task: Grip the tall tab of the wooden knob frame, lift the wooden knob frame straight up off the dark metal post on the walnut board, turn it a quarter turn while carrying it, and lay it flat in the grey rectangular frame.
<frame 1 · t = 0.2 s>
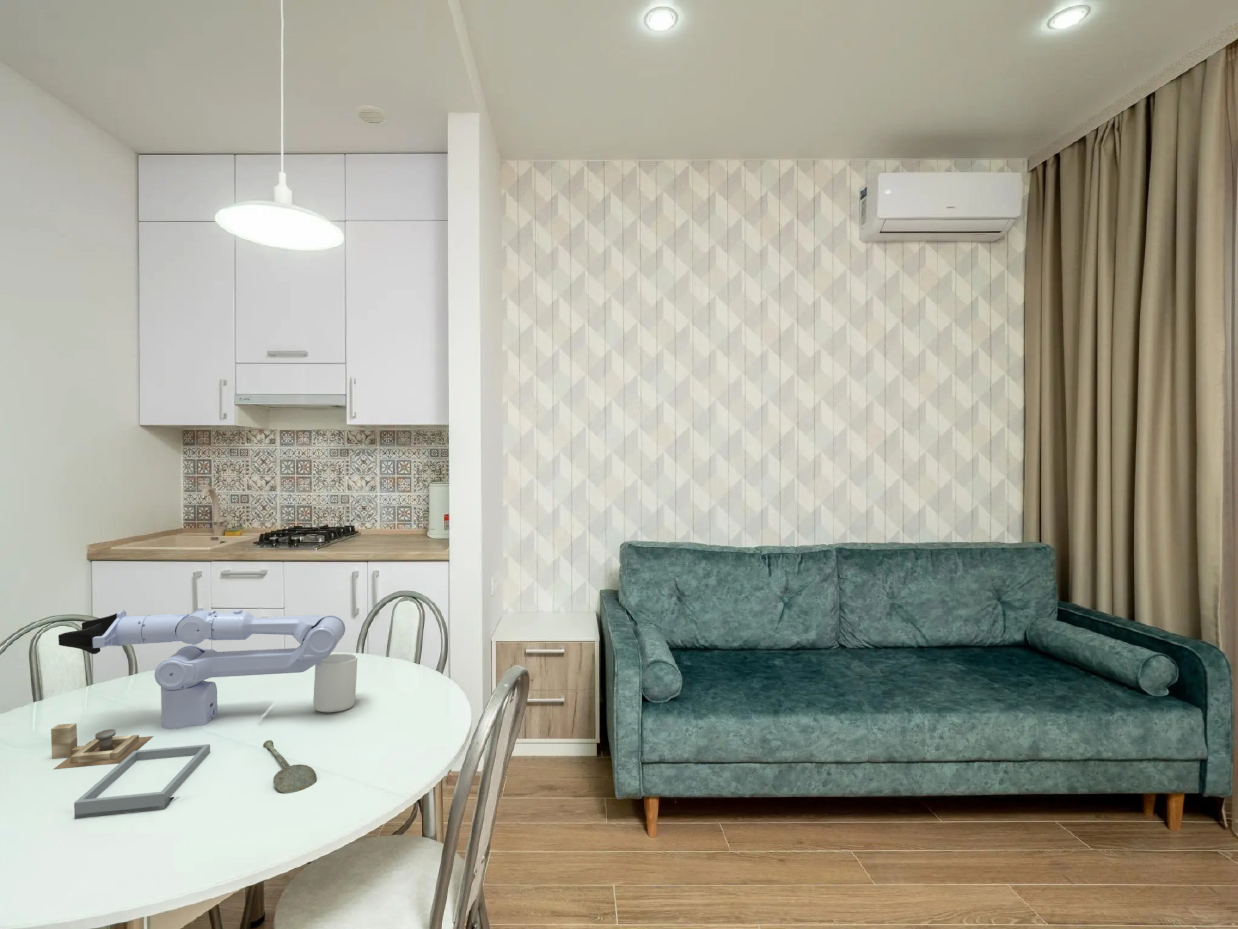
hand: (71, 633, 130), 21 cm above the table, tool horizontal, fingers open, 7 cm apart
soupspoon: (283, 770, 118), on the table
wooden knob frame: (106, 751, 121), point 1 cm above the table, touching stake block
grey rectangular frame: (148, 785, 111), on the table
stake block: (106, 757, 121), on the table
mug: (332, 705, 145), on the table, touching arm
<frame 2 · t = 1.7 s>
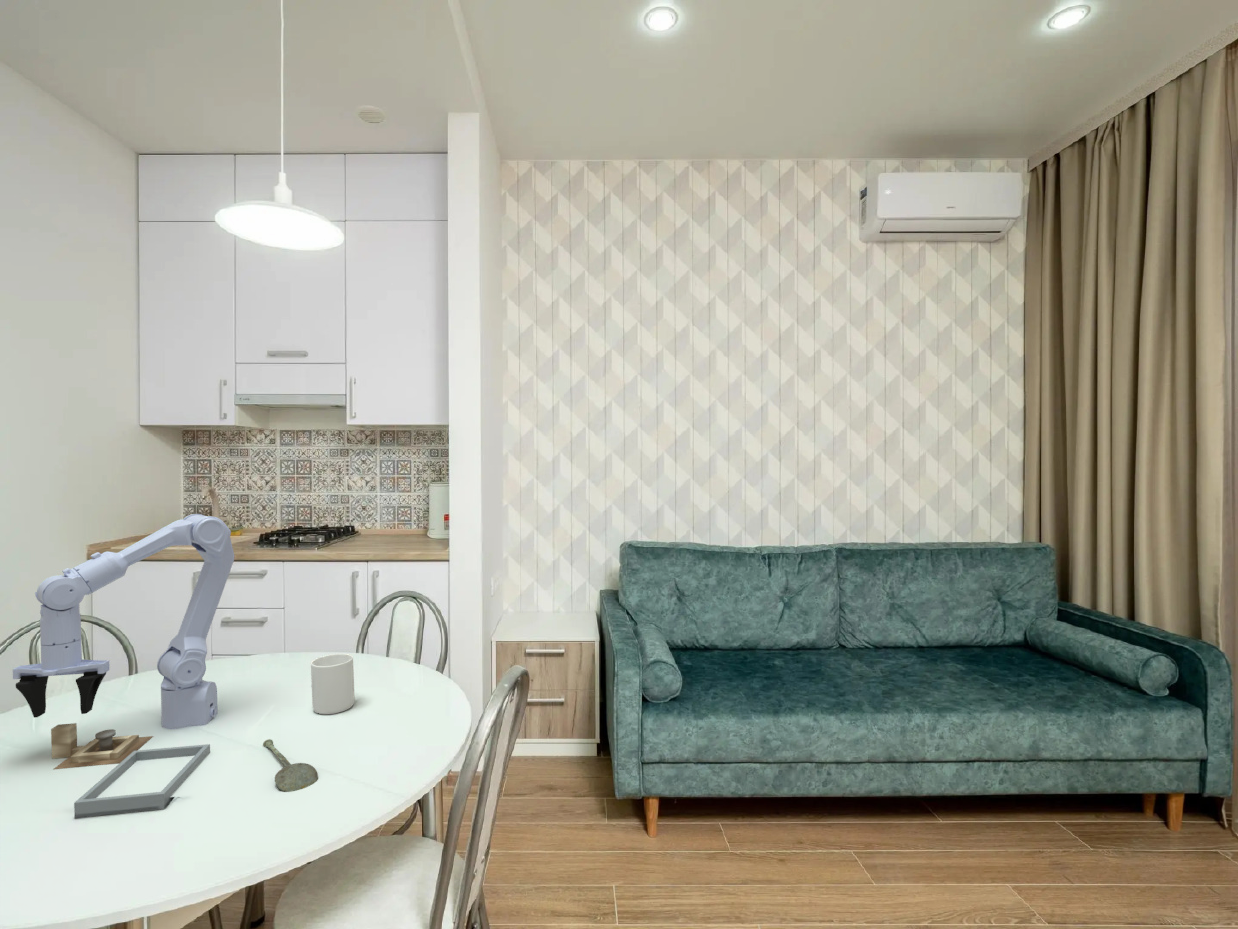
hand: (63, 713, 120), 9 cm above the table, tool pointing down, fingers open, 7 cm apart
mug: (333, 705, 145), on the table
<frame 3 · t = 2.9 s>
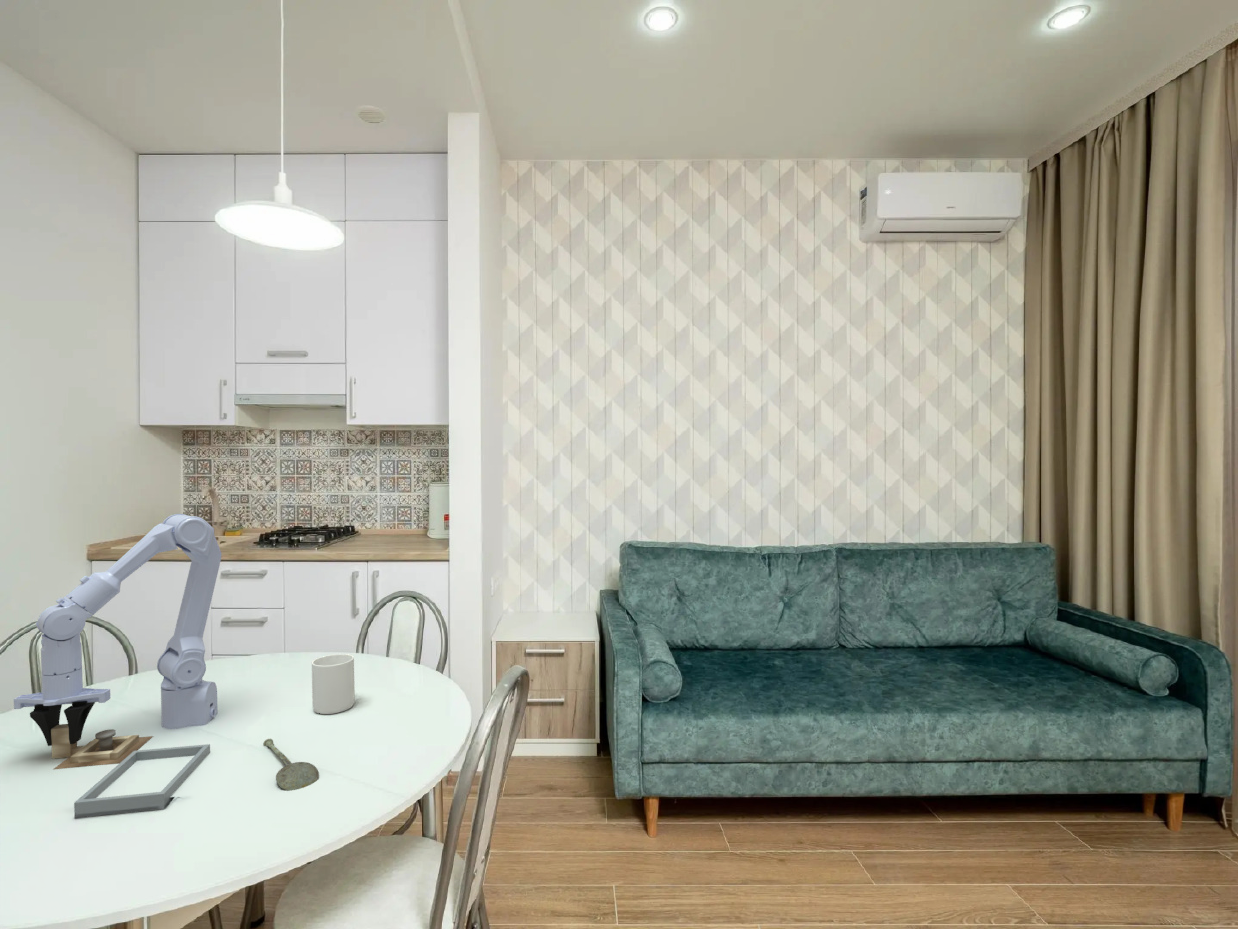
hand: (64, 742, 120), 3 cm above the table, tool pointing down, fingers closed on wooden knob frame, 3 cm apart
wooden knob frame: (106, 751, 121), point 1 cm above the table, touching gripper, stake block
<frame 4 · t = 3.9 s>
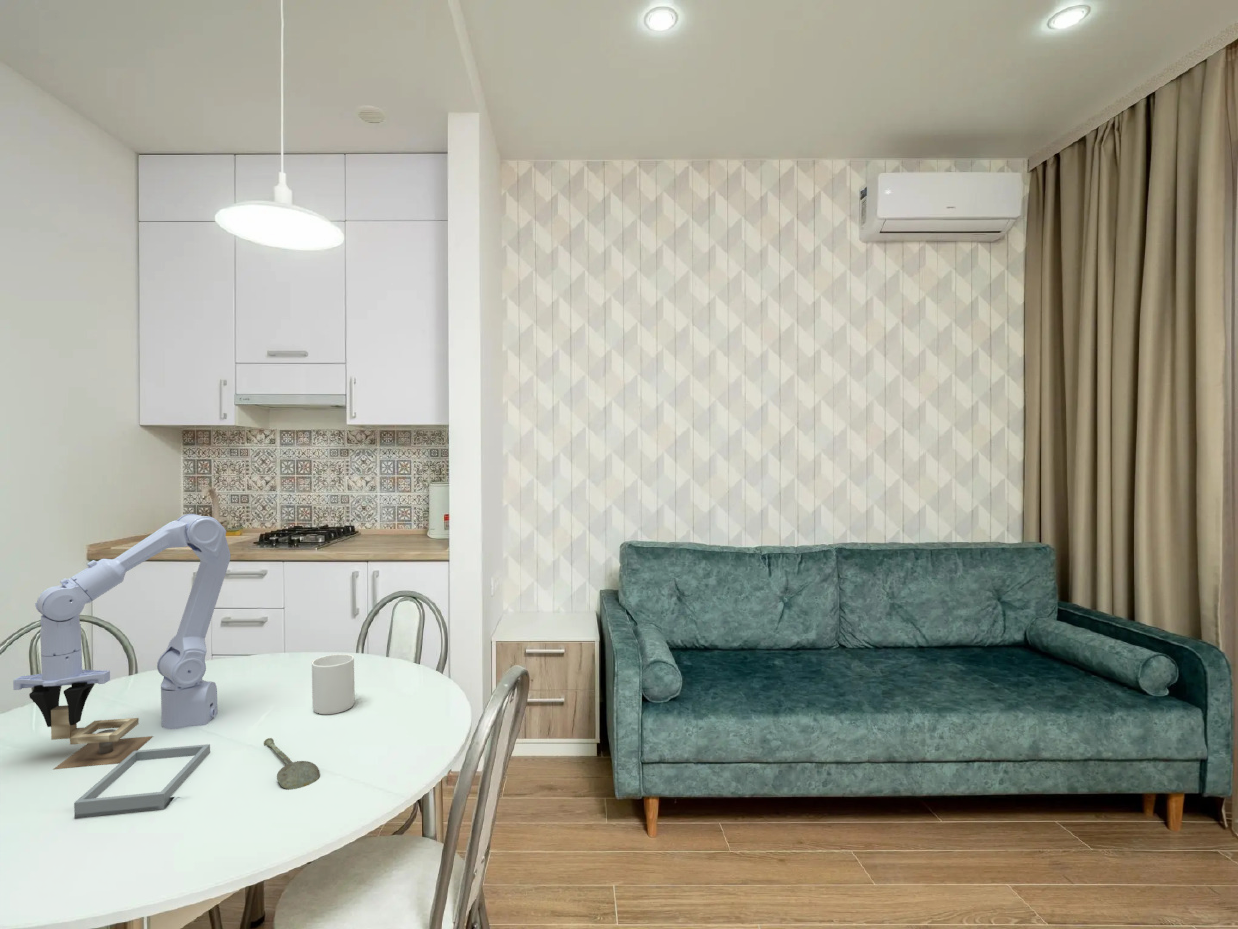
hand: (64, 723, 120), 7 cm above the table, tool pointing down, fingers closed on wooden knob frame, 3 cm apart
wooden knob frame: (105, 734, 121), point 4 cm above the table, touching gripper
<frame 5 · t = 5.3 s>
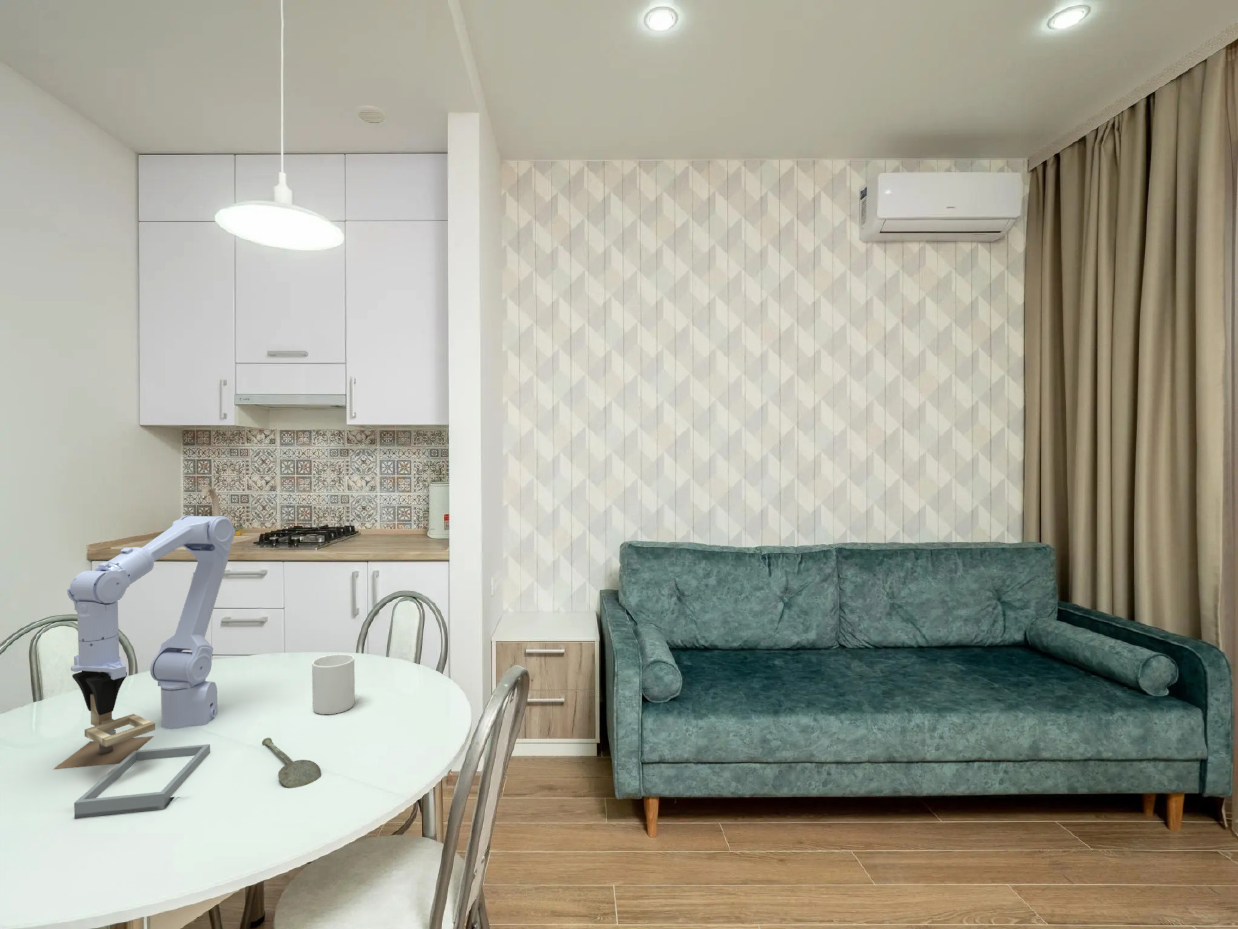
hand: (100, 711, 117), 10 cm above the table, tool pointing down, fingers closed on wooden knob frame, 3 cm apart
wooden knob frame: (120, 733, 114), point 8 cm above the table, touching gripper
when the fingers open (4 cm above the table, at t = 7.9 s): wooden knob frame stays where it is, resting on grey rectangular frame.
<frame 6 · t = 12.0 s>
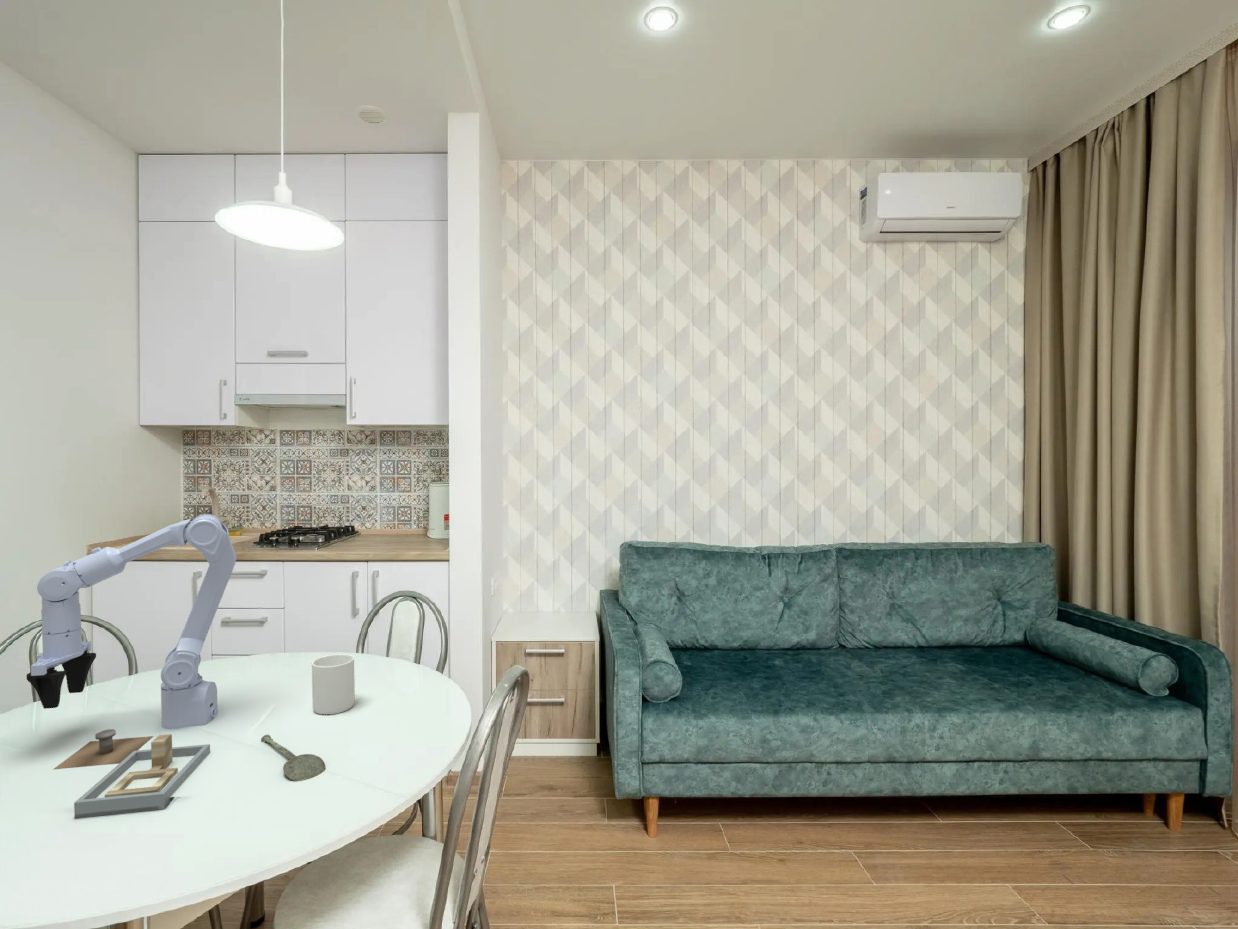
hand: (64, 699, 125), 9 cm above the table, tool pointing down, fingers open, 7 cm apart
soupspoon: (288, 761, 121), on the table
wooden knob frame: (142, 787, 109), point 1 cm above the table, touching grey rectangular frame
everything else where it was.
at the end: wooden knob frame 0.1 cm from the target spot on the grey rectangular frame, point 0.6 cm above the grey rectangular frame's base; wooden knob frame tilted 0°; the gripper is holding nothing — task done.
